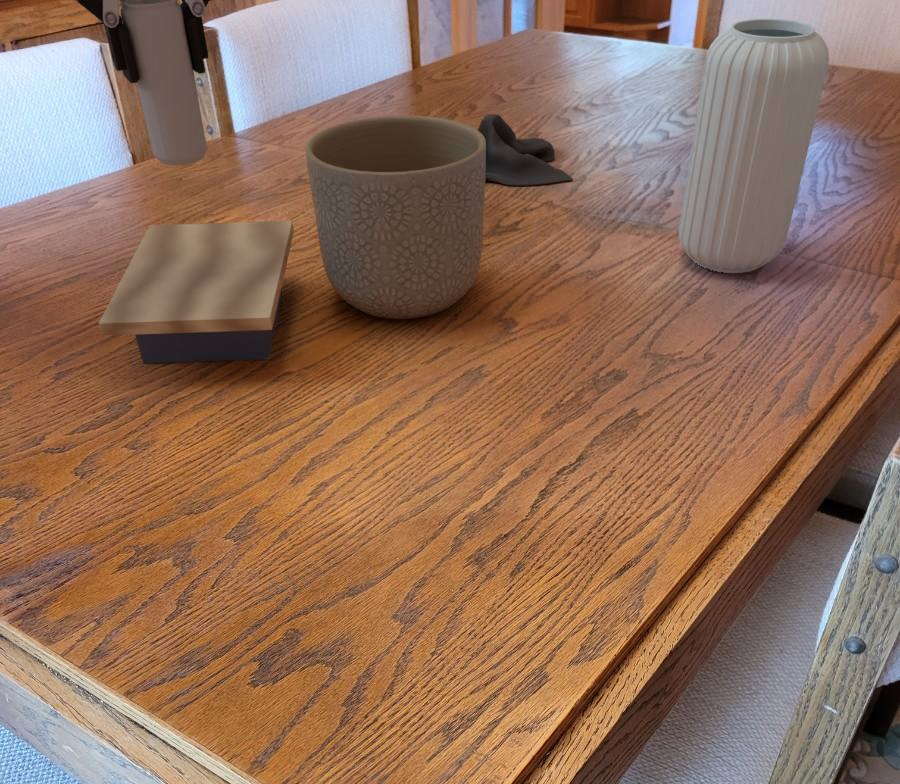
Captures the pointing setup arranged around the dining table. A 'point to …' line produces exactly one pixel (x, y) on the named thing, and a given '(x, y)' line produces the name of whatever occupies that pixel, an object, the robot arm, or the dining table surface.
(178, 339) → the crate
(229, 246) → the board
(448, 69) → the dining table surface
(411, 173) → the planter
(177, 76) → the beverage can
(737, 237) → the vase
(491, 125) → the cloth
